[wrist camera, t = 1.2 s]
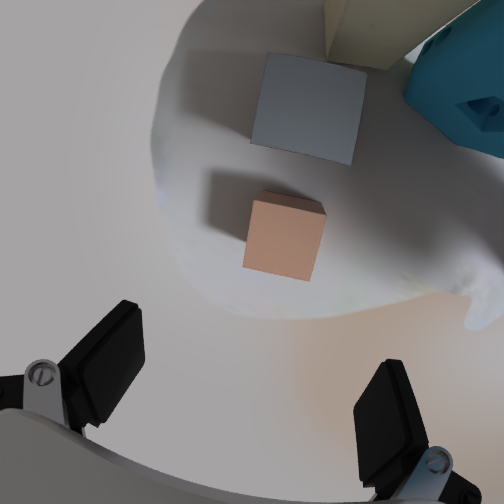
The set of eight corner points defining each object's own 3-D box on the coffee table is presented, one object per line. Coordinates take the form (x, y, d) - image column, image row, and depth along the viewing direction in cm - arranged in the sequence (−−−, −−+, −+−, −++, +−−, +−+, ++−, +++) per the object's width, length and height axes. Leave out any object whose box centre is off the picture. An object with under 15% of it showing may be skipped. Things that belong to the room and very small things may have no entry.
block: (387, 88, 22) (507, 14, 3) (404, 56, 20) (512, -27, 1) (468, 157, 22) (607, 190, 4) (482, 125, 20) (615, 133, 2)
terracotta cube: (320, 202, 27) (326, 215, 22) (307, 256, 29) (309, 281, 24) (263, 190, 28) (253, 199, 22) (253, 245, 30) (242, 266, 24)
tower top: (355, 87, 19) (367, 73, 15) (341, 163, 22) (350, 165, 17) (273, 69, 20) (267, 51, 15) (259, 145, 22) (250, 143, 18)
